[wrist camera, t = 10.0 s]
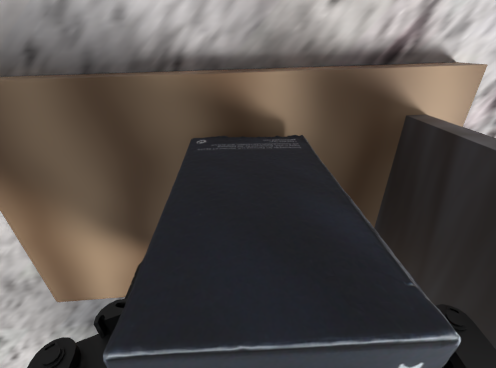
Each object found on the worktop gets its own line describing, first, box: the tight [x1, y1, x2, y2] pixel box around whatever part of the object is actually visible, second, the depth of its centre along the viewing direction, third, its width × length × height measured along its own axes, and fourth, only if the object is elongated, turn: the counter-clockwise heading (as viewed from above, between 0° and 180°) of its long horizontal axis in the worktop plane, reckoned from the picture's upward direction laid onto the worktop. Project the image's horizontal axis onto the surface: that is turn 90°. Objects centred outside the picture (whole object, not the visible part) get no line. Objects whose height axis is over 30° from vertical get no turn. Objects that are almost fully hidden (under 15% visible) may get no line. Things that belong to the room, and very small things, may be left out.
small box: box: [103, 135, 461, 368], centre depth 11 cm, size 11×6×10 cm, turn 0°
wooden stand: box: [0, 62, 496, 349], centre depth 13 cm, size 28×16×11 cm, turn 91°
